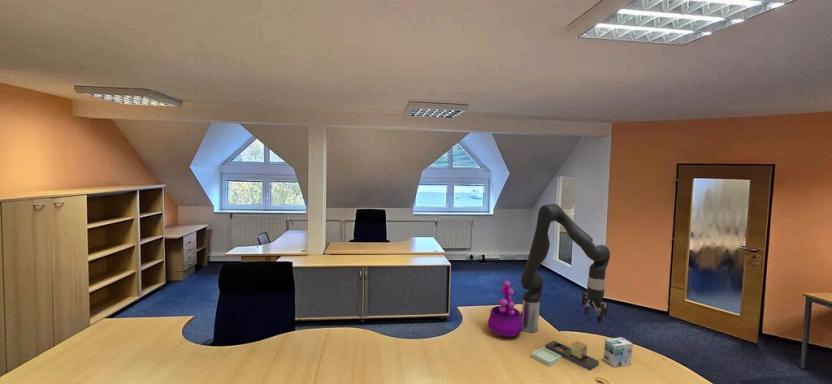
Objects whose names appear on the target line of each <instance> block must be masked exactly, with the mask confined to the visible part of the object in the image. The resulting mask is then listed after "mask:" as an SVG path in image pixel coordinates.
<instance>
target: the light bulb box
mask: <svg viewBox="0 0 832 384" xmlns="http://www.w3.org/2000/svg"><path fill="white" fill-rule="evenodd" d="M633 346H634V344H633V343H632V342H631V341H629V340H627V339H626V338H624V337H622V336H621V337H614V338H606V339H605V340H604V351H603V361H604V362H605V363H606V364H608V365H610V366H611V367H612V368H617V367H625V366H631V364H632V356H633V355H632V353H633Z"/></svg>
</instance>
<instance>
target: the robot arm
mask: <svg viewBox="0 0 832 384" xmlns="http://www.w3.org/2000/svg"><path fill="white" fill-rule="evenodd" d="M552 222H556V223H558V224H559V225H560V226H562V227H563V228H564V229H565V231H566V233H567V235H568V237H569V238H570V239H571V241H572V242H574V243H575V244H577V246H579V248H581V250H582V251H583V252H584V254H585V255H586V256H587V258H588V259H590V260H592V261H593V262H592V263H591V265H590V266H589V269H588V277H587V284H586V292H585V293H584V292H583V293H582V296H581V305H583V307H584V309H583V310H584V315H585V316H589V315H590V310H591V308H590V307H592V308H594V310H595V311H596V313H597V318H596V319H597V320H596V322H597V324H601V323H603V319H604V317H605V316H606V317H607V315H608V303H607V302H606V303H605V302H603V299H604V297H605V288H606V287H605V286H606V269H607V268H608V265H609V263H610V258H611V252H610V249H609V248H608V246H607V245H605V244H599V245H598V244H597V245H596V244H594V242H593V241H594V240H593V237H592V236H590V235H589V234H588V233H587V232H586V231H584V230H583V229H582V228H581V227H580V226H579V225H577V224H576V223H575V222H574V220H573V219H571V217H570V216H569V215H568V214H567V213H566V212H565V211H564V209H563V208H562V207H561V206H560V205H559V204H556V203H549V204H544V205H542V206H540V208H539V211H538V214H537V220H536V225H535V231H534V235H533V237H532V241H531V247H530V249H529V253H528V254H529V255H528V258H527V260H526V263H525V266H524V268H523V271H522V273H521V278H520V285H521V286H522V288H523V289H524V290H527V291H525V292H524V293H523V295H522V309H521V311H520V314H521V321H522V331H524V332H527V333H537V332H538V331H539V320H540V319H539V318H540V304H541V303H540V301H541V298H542V293H543V288H544V287H543V286H544V279H543V276H542V274H541V273H540V272H537V269H538V267H540V266H541V264H542V263H543V262H544V260H545V259H546V258H547V256H548V255H549V254H548V253H549V250H550V244H551V243H550V238H549V230H550V229H549V228H550V225H551V223H552Z"/></svg>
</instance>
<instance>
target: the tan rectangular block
mask: <svg viewBox="0 0 832 384" xmlns="http://www.w3.org/2000/svg"><path fill="white" fill-rule="evenodd" d="M571 348H572V351H571V356H572V357H574V358H576V359H578V360H580V361H583V360H584V359H586V355H587V353H588V352H587V351H588V345H587V344H585V343H583V342H580V341H578V340H576V341H575V342H573V343H572V344H571Z"/></svg>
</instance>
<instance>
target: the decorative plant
mask: <svg viewBox="0 0 832 384" xmlns="http://www.w3.org/2000/svg"><path fill="white" fill-rule="evenodd" d="M511 287H512V284H511V281H509V280H505V281H504V282H503V286H501V289H500V290H501V294H503V295H504V298H500V299H498V305H497V306H494V307H492V308H491V309H490V312H489V313H490V314H489V317H488V320H487V326H488V329H489V330H490V331H491V332H492V333H494V334H496V335H498V336H501V337H507V338H509V337H510V338H511V337H516V336H518V335H519V334H521V332H522V331H523V329H522V321H521V311H520V310H518V309H517V308H515V306H516V305H515V304H516V303H514V302H515V301H512V297H511V296H512V295H513V294H514V293H515V291H514V289H512V288H511Z"/></svg>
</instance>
